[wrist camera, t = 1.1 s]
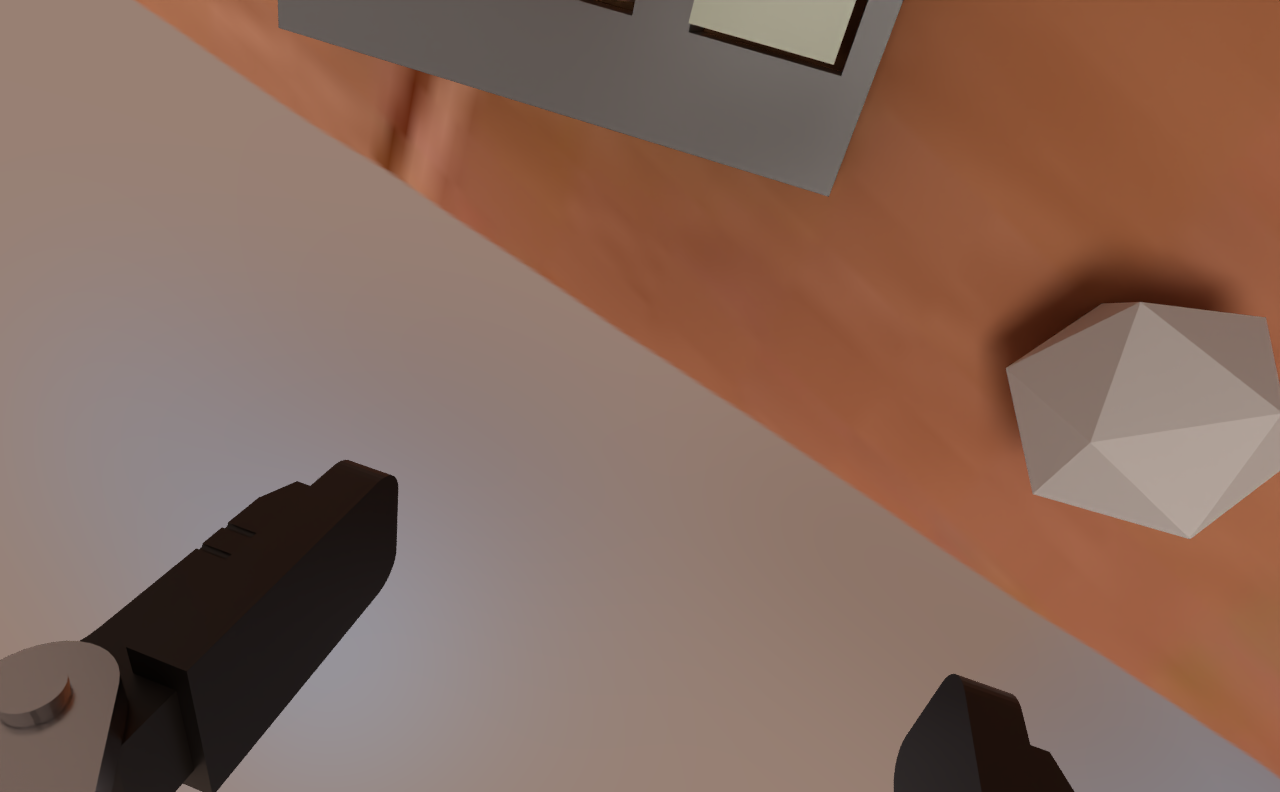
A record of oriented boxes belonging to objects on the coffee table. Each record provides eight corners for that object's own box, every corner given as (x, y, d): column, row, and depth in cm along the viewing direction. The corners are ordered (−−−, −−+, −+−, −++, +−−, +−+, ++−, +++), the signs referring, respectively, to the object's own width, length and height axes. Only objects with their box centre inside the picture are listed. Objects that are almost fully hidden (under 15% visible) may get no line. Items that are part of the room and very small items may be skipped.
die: (947, 348, 32) (1000, 565, 28) (1094, 217, 25) (1201, 488, 20) (1107, 365, 34) (1182, 573, 29) (1293, 247, 26) (1435, 505, 21)
